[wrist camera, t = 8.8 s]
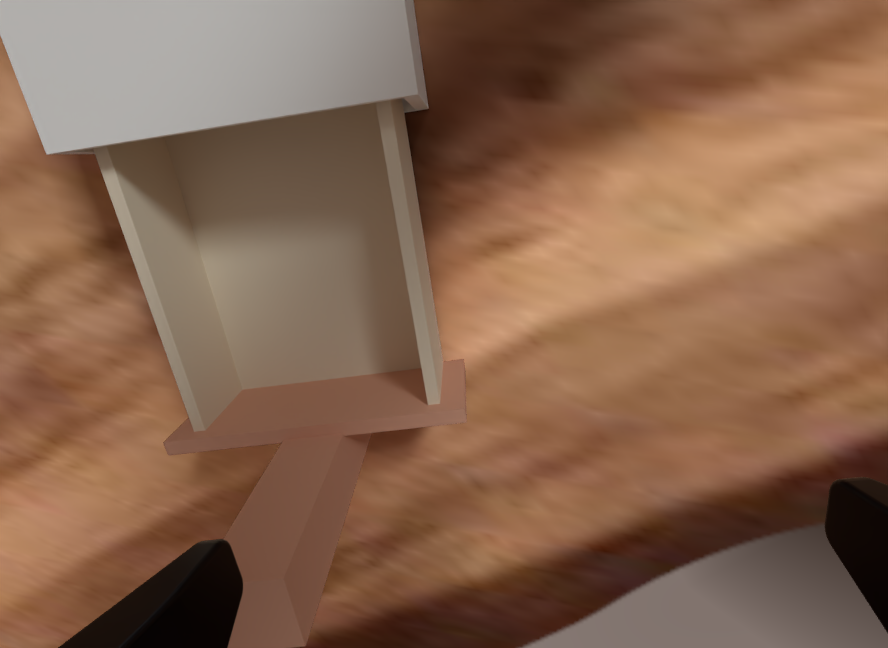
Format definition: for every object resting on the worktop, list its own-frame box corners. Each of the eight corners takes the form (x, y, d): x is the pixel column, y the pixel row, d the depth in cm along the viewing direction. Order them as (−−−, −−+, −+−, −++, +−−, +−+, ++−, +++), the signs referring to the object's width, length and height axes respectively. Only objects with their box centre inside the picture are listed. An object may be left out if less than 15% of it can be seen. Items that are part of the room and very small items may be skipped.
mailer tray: (405, -49, 15) (320, -369, 6) (471, 412, 20) (481, 632, 11) (94, 9, 15) (-425, -194, 6) (234, 439, 21) (58, 665, 12)
